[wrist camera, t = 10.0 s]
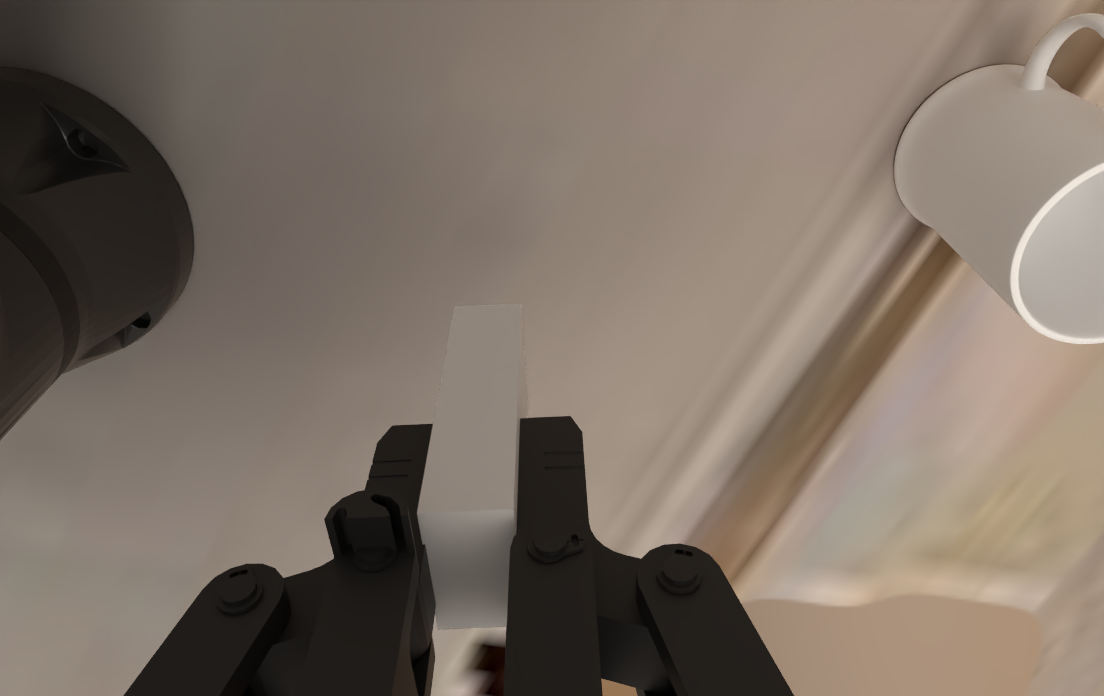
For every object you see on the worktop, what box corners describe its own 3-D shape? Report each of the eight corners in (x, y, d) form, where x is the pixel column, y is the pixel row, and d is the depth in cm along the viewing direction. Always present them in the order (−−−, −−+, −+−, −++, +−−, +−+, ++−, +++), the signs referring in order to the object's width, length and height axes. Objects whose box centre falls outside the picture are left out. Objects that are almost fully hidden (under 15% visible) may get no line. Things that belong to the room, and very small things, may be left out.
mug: (935, -13, 36) (1082, 40, 26) (1123, -10, 37) (1342, 45, 26) (875, 229, 43) (975, 348, 32) (1036, 231, 43) (1187, 352, 33)
